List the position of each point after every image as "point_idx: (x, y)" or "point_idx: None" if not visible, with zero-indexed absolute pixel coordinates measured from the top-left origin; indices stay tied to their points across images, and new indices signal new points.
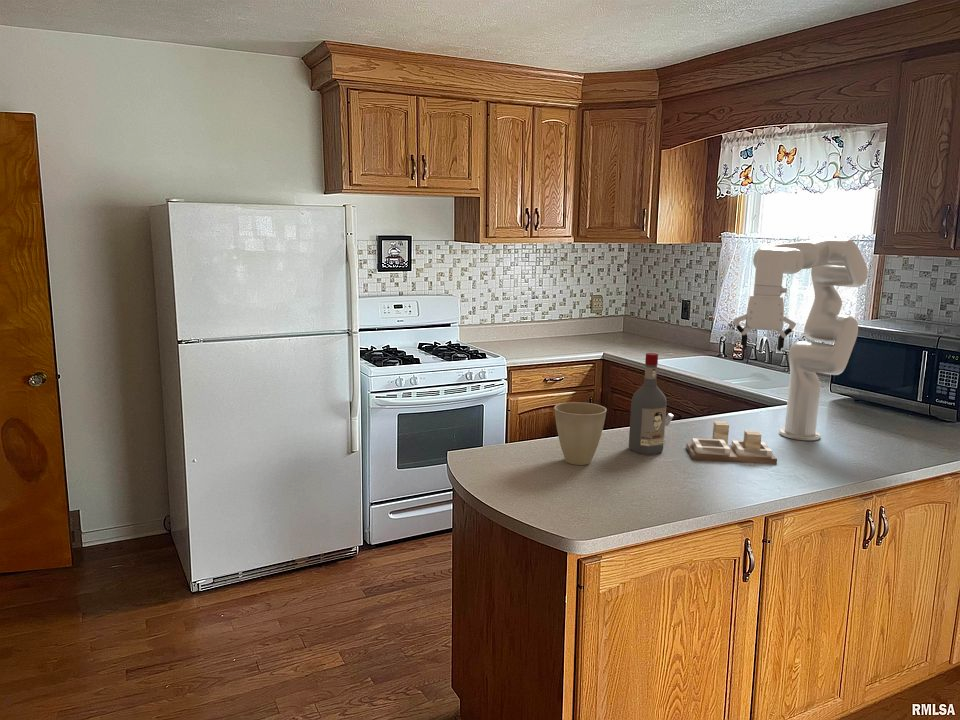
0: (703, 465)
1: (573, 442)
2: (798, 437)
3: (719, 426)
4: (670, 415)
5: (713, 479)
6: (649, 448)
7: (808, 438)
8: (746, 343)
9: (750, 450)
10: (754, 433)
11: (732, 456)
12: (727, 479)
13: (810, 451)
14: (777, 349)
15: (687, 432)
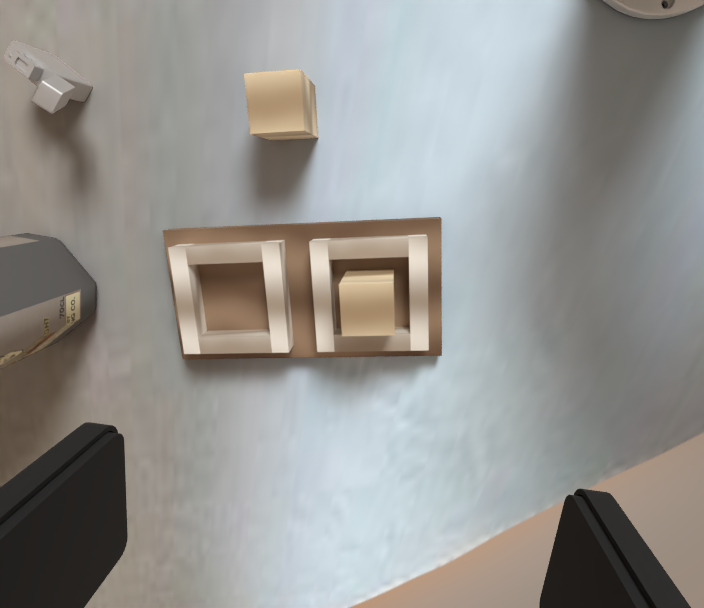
0: (217, 398)
1: None
2: (633, 12)
3: (266, 134)
4: (46, 107)
5: (236, 500)
6: (48, 345)
7: (677, 14)
8: (80, 604)
9: (355, 350)
10: (370, 322)
11: (300, 354)
12: (271, 495)
13: (616, 176)
14: (555, 539)
15: (176, 10)
